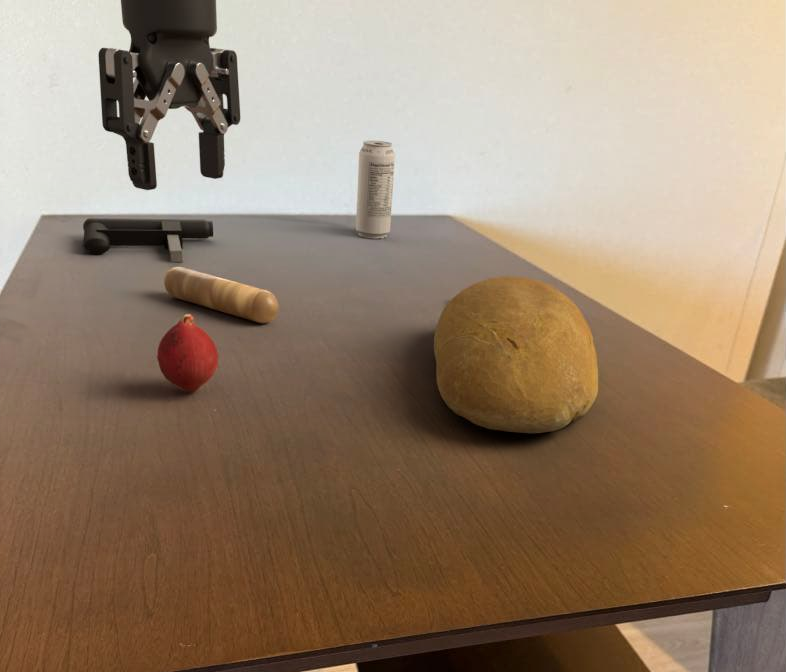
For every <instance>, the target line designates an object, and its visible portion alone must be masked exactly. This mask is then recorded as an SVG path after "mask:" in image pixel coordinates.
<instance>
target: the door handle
mask: <svg viewBox="0 0 786 672" xmlns="http://www.w3.org/2000/svg"><path fill="white" fill-rule="evenodd" d="M82 229H83V248H84V250H85V251H87V252H88V253H90V254H94V255H101V254H104V253H106V252H108V251H109V250H110V247H164V250H166V249H167V250H168V254H169V259H170V263H183V251H182V249H184V246H183V245H184V244H183V239H199V240H200V239H202V240H203V239H204V240H205V239H209V238H214V223H213V220H211V219H210V220H208V219H206V218H148V217H147V218H146V217H145V218H143V217H142V218H141V217H139V218H137V217H135V218H134V217H89V218H86V219H85V220H84V222H83V224H82Z"/></svg>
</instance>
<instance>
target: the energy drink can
mask: <svg viewBox="0 0 786 672" xmlns="http://www.w3.org/2000/svg"><path fill="white" fill-rule="evenodd" d="M362 142H363V143H362V146H361V148H360V150H359V152H358V169H357V170H358V171H357V191H356V192H357V193H356V212H355V213H356V215H355V230H356V231H357V232H358V236H360V237H362V238H366V239H371V238H372V239H373V240H380V239H379V238H381V239H385V238H387V235H388V234H389V233H390V232H391V219H392V204H393V189H394V173H395V160H396V159H395V158H396V154H395V152H394V150H393V143H392V142H389V141H384V140H364V141H362ZM384 237H385V238H384Z"/></svg>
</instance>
